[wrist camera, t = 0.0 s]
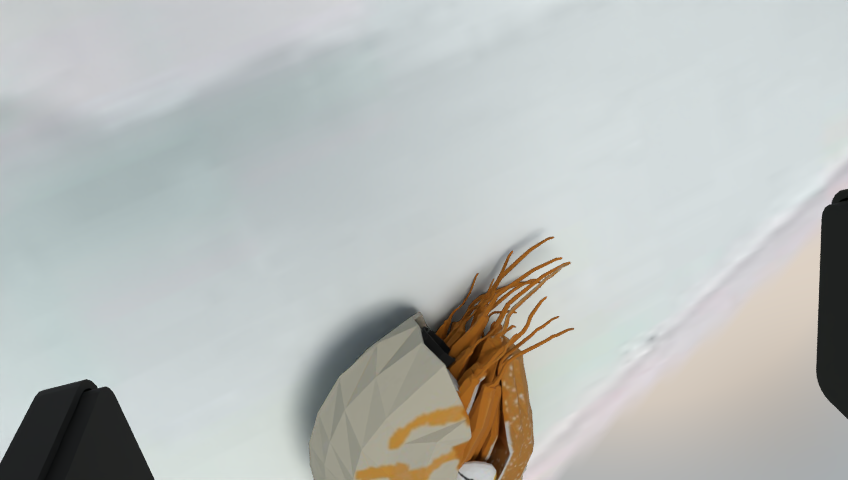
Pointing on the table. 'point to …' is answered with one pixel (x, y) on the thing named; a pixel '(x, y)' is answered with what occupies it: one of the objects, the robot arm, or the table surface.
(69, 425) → the robot arm
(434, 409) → the nautilus
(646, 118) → the table surface
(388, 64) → the table surface
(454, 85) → the table surface
